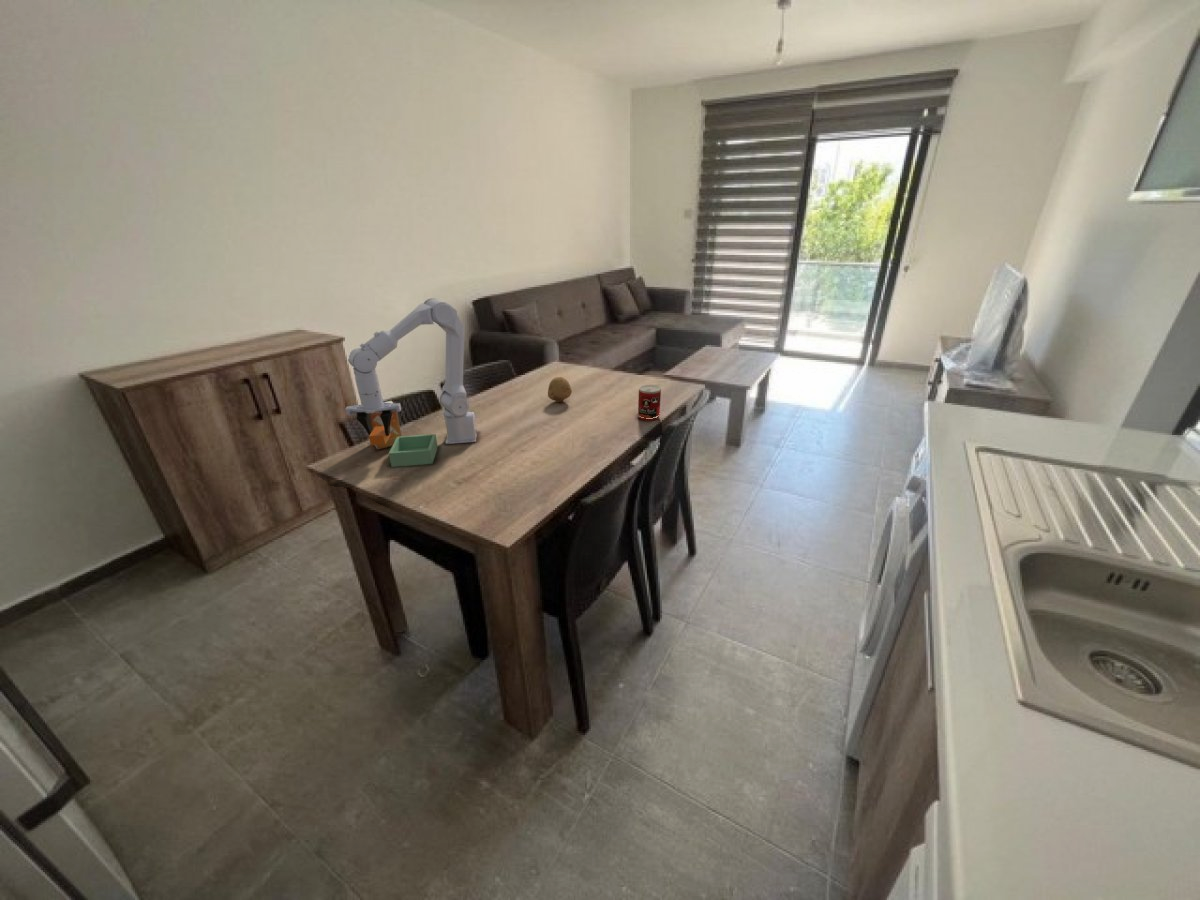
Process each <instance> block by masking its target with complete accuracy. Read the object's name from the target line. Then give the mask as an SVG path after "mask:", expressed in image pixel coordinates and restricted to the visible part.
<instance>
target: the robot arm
mask: <svg viewBox="0 0 1200 900" xmlns="http://www.w3.org/2000/svg"><path fill="white" fill-rule="evenodd" d="M434 324H436V325H438V326H439V328H441V329H442V330H443V331H444V333H445V376H444V377H445V380H444V381H445V383H444V384H443V385H442V390H441V394H440V395H439V404H440V406H441V407H442V408H444V410H443V416H444V422H445V429H446V439H445V442H444V443H445V444H446V445H451V444H454V445H455V444H464V443H465V444H466V443H476V442H477V435H478V429H477V423H476V422H477V421H476V416H475V415H476V414H475V412H474V411H469V409H470V404H469V400H468V398H467V391H466V389H465V386H464V362H465V361H464V359H465V358H464V357H465V355H464V354H465V327H464V324H463V323H462V320H461V319H460V317H459V315H458V310H457V309H456V308H455V307H454V306H452V305H451V304H450V303H448V302H445V301H441V300H438V299H437V298H433V297H431V298H428V299H426V300H425V301H424V302H422V303H419V304H418V305H417V306H416V307H415V308H414V309H413V310H412V311H411V312H409V313H408V314H407V315H406V316H405V317H403V318H402V319H401V320H400V321H399V322H398V323H396V324H395V325H394V326H393V327H391V329H390V330H380V331H375V332H374V333H373V337H371V338H370V339H369V340H368V341H366V342H365V343H364V342H363V343H360V344H359V347H356V348H354V349H352V350H351V351H350V352H349V355H348V359H347V361H348V363H349V364H350V365H351V367H352V369H353V375H354V380H355V384H356V388H357V392H358V396H359V400H360V404H356V405H347V406H346V407H345V413H346V416H351V415H356V420H357V421H358V422H359V424H361V425H362V427H363V428H364V429H365V431H366V433H367V434H368V436H369V435H370V434H371V432H372V431H373V427H372V424H371V418H370V413H375V412H382V414H381V415H380V417H381V419H382V422H383V425H384V429H385V434H386V436H389V434H390V422H391V417H392V413H393V411H396V412H397V413H400V412H401V411H402V406H401V403H400V402H393V403H383V402H384V400H383V396H382V390H381V387H380V381H379V377H378V374H377V371H376V368H377V365H378V362H380V361H382V360H383V359H384V358H385V357H386V356H388V355H389V354H390V353H392V352H393V351H394V350H395V349H397V348H398V342H399V340H401V339H402V338H404V337H405V336H407V335H408V334H410V333H411V332H413V331H414V330H415V329H417V328H418V327H419V326H422V325H434Z"/></svg>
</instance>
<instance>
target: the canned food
mask: <svg viewBox="0 0 1200 900" xmlns="http://www.w3.org/2000/svg"><path fill="white" fill-rule="evenodd" d="M661 396H662V388H661V386H658V385H655V384H644V385H640V386H639V388H638V403H637V404H638V405H637V416H638V415H639V416H641V417H644V418H641V417H639V416H638V418H639V419H640V420H642V421H644V422H645V421H646V422H652V421H657V420H658V419H659V418H660V414H659V413H660V412H661V410H660V409H661V398H662V397H661ZM658 415H659V416H658ZM656 416H658V417H657V418H653V417H656ZM646 418H653V419H646Z"/></svg>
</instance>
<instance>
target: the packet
mask: <svg viewBox="0 0 1200 900" xmlns="http://www.w3.org/2000/svg"><path fill="white" fill-rule="evenodd" d="M390 435H391V433H390V434H389V436H386V434H385V429H384V426H378V427H374V429H373V431H372V432H371V434H370V435H369V434H368V439H369V443H370V446H371V447H373V446H375V445H385V444H386V443H387V441H388V439H389V437H390Z"/></svg>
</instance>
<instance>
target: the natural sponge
mask: <svg viewBox="0 0 1200 900" xmlns="http://www.w3.org/2000/svg"><path fill="white" fill-rule="evenodd" d="M572 392H573V391H572V388H571V384H570V382H569V381H568V380H567V379H566V378H565V377H563V376H555V377H553V378H552V379H551V380H550V382H549V385H548V389H547V397H548V399H550V400H552V401H554V402H557V403H562V402H564V400H566V399H568V398H570V397H571V395H572Z"/></svg>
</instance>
